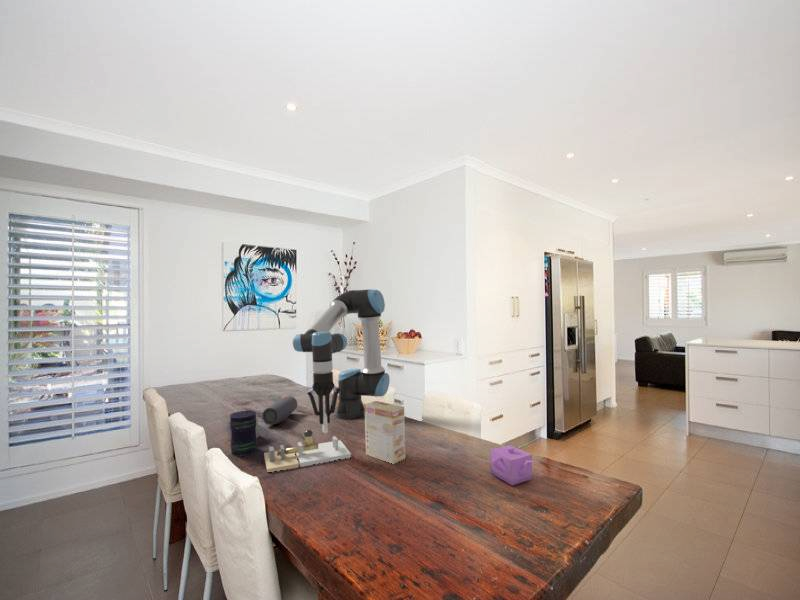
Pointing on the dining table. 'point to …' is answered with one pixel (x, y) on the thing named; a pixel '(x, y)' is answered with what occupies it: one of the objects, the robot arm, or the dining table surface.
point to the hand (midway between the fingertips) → (325, 431)
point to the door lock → (306, 456)
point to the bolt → (307, 447)
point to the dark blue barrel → (243, 433)
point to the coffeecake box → (385, 431)
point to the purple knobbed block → (511, 464)
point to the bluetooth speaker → (279, 410)
